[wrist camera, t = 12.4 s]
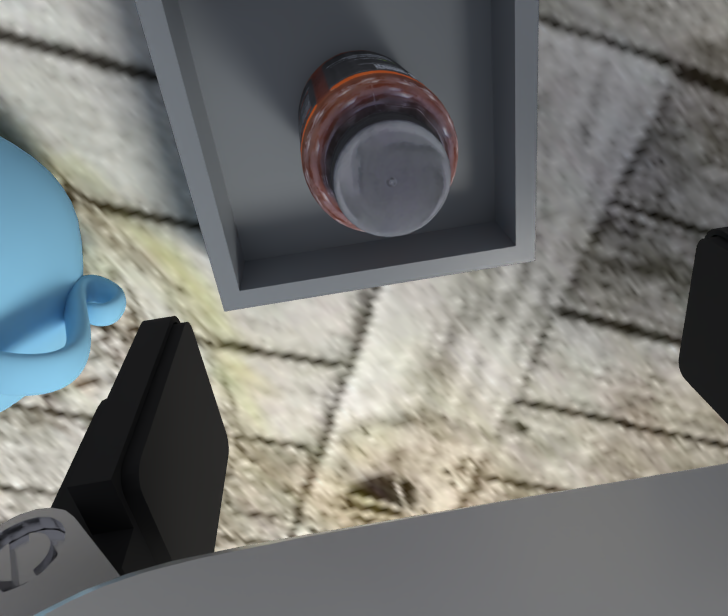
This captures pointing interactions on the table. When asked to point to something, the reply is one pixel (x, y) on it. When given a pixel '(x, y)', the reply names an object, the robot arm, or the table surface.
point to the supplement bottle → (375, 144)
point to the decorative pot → (44, 283)
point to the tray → (282, 142)
